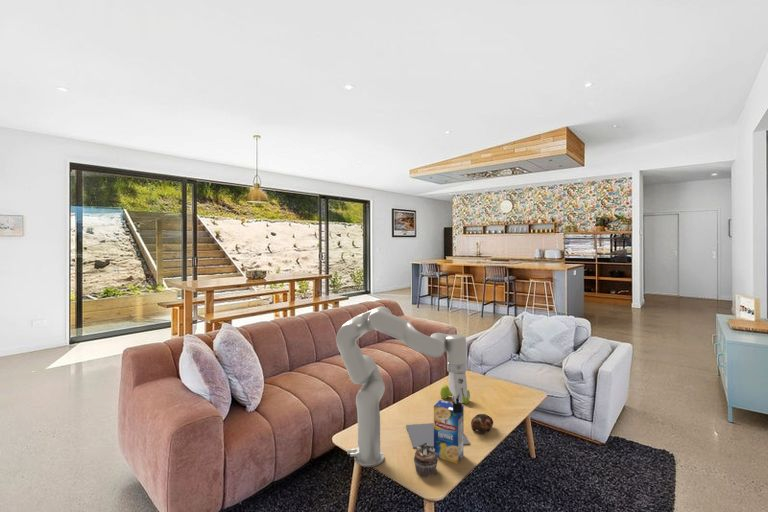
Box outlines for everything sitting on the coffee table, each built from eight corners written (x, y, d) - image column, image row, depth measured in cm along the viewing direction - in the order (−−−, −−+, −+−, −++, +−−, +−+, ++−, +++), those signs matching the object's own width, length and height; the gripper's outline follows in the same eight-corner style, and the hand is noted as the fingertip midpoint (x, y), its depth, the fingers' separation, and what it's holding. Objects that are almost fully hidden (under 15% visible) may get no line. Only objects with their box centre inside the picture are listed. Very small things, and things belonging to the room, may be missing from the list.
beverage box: (458, 463, 155) (458, 411, 154) (433, 455, 161) (433, 405, 160) (463, 455, 161) (463, 405, 160) (439, 448, 166) (439, 399, 165)
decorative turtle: (465, 434, 178) (465, 417, 178) (480, 424, 190) (479, 408, 190) (484, 440, 172) (484, 422, 172) (498, 429, 183) (498, 412, 184)
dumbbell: (471, 400, 215) (471, 388, 214) (466, 406, 208) (466, 393, 207) (444, 394, 223) (444, 382, 223) (439, 399, 216) (439, 387, 216)
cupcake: (408, 470, 151) (408, 446, 150) (424, 460, 157) (424, 437, 157) (427, 481, 144) (427, 456, 143) (442, 470, 150) (442, 446, 150)
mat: (413, 448, 166) (413, 447, 166) (405, 426, 186) (405, 424, 186) (470, 444, 169) (470, 443, 169) (456, 422, 189) (456, 421, 189)
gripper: (472, 372, 141) (472, 420, 142) (460, 360, 156) (460, 403, 157) (453, 373, 140) (453, 421, 141) (442, 361, 155) (443, 404, 156)
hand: (457, 411), depth 149 cm, fingers closed
